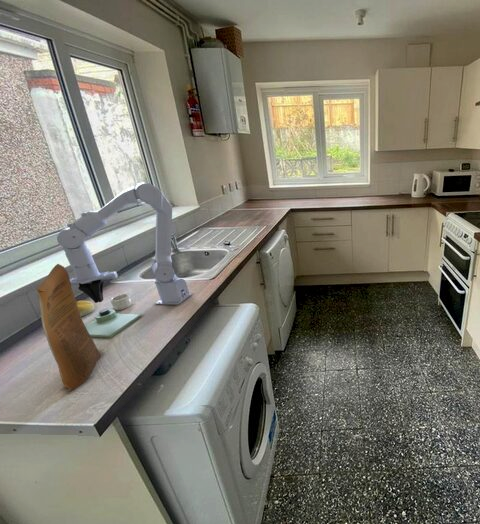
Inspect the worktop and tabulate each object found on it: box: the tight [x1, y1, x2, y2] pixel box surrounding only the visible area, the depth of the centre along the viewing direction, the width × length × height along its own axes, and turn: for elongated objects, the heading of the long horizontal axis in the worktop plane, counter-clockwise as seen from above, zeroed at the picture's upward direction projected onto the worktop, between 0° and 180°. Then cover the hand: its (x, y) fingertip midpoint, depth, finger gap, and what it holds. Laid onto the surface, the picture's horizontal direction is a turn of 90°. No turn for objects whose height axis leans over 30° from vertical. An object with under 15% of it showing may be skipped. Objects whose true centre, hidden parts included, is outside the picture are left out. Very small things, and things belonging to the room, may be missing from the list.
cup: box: [109, 293, 133, 311], centre depth 108 cm, size 6×6×4 cm
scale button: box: [98, 308, 110, 316], centre depth 99 cm, size 3×3×2 cm
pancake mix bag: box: [35, 263, 102, 392], centre depth 72 cm, size 7×19×28 cm, turn 25°
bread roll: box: [76, 300, 95, 318], centre depth 105 cm, size 8×9×4 cm
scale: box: [84, 308, 142, 338], centre depth 96 cm, size 14×12×2 cm
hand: (99, 301), depth 97 cm, fingers closed
